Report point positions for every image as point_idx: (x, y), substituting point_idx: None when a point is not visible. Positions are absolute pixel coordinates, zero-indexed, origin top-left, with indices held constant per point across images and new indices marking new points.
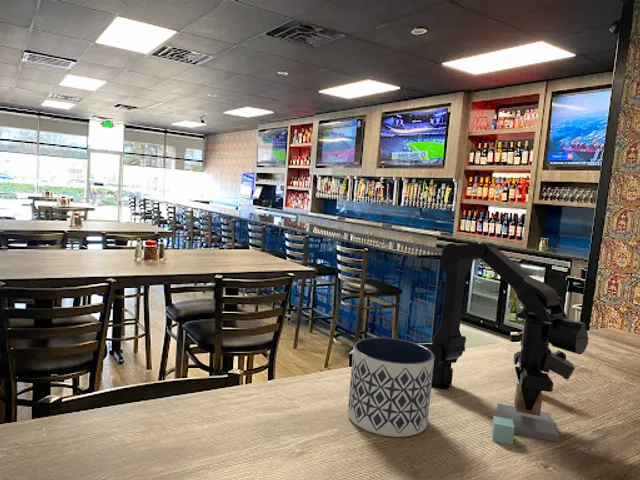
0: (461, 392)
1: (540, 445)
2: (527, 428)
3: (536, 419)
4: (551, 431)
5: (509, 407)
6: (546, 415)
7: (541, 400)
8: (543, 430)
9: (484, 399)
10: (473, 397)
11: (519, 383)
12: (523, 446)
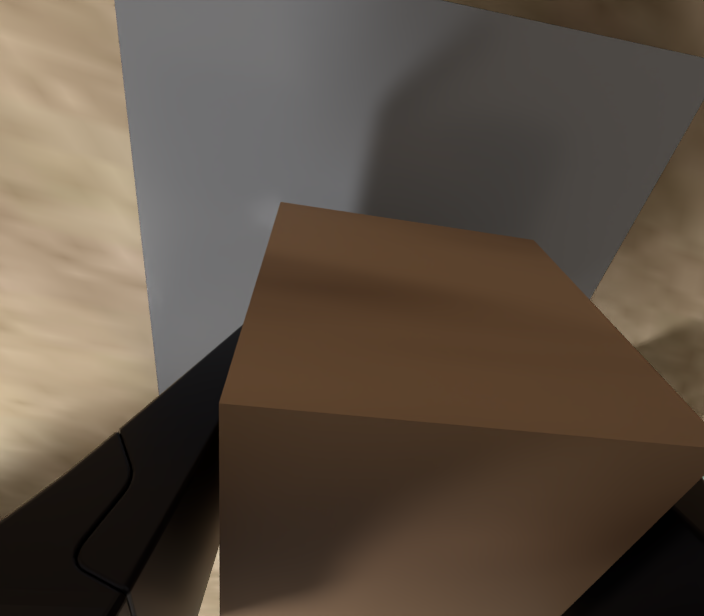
0: (25, 502)
1: (698, 236)
2: None
3: (378, 187)
4: (633, 117)
5: (198, 351)
6: (220, 16)
7: (647, 372)
8: (605, 194)
9: (42, 417)
10: (59, 463)
11: (196, 612)
12: (688, 340)
